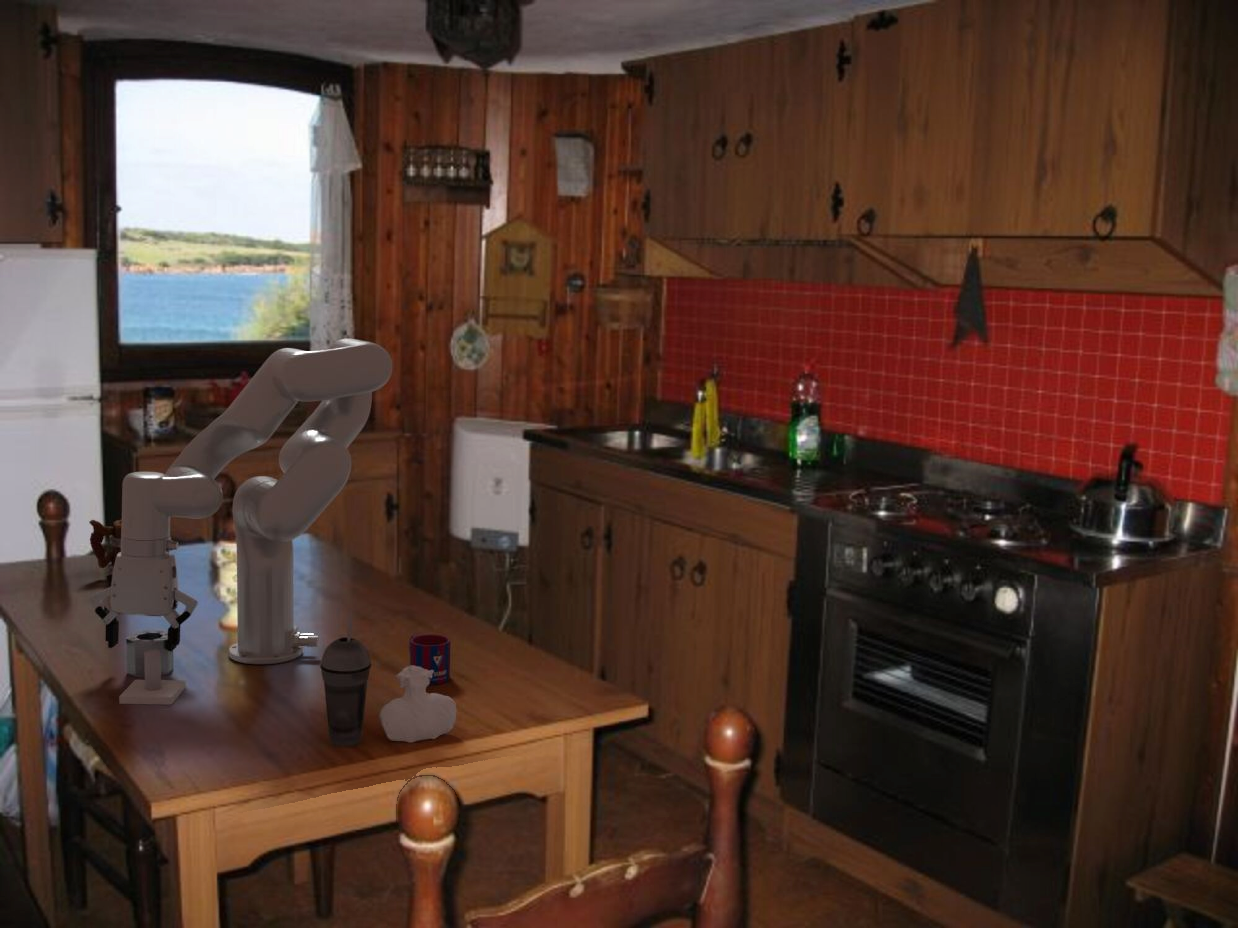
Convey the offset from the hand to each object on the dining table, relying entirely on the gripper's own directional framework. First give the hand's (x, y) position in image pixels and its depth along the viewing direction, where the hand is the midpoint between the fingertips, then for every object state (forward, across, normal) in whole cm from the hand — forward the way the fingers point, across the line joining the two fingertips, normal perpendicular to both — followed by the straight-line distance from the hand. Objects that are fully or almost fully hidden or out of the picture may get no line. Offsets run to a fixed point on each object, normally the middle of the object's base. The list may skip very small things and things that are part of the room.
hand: (142, 647), depth 215 cm
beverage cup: (+4, -38, +29) cm, 48 cm away
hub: (+4, -1, -1) cm, 4 cm away
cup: (+3, -47, -1) cm, 47 cm away
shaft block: (+4, -5, +11) cm, 13 cm away
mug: (+4, +22, -63) cm, 66 cm away
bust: (+3, -48, +26) cm, 55 cm away
